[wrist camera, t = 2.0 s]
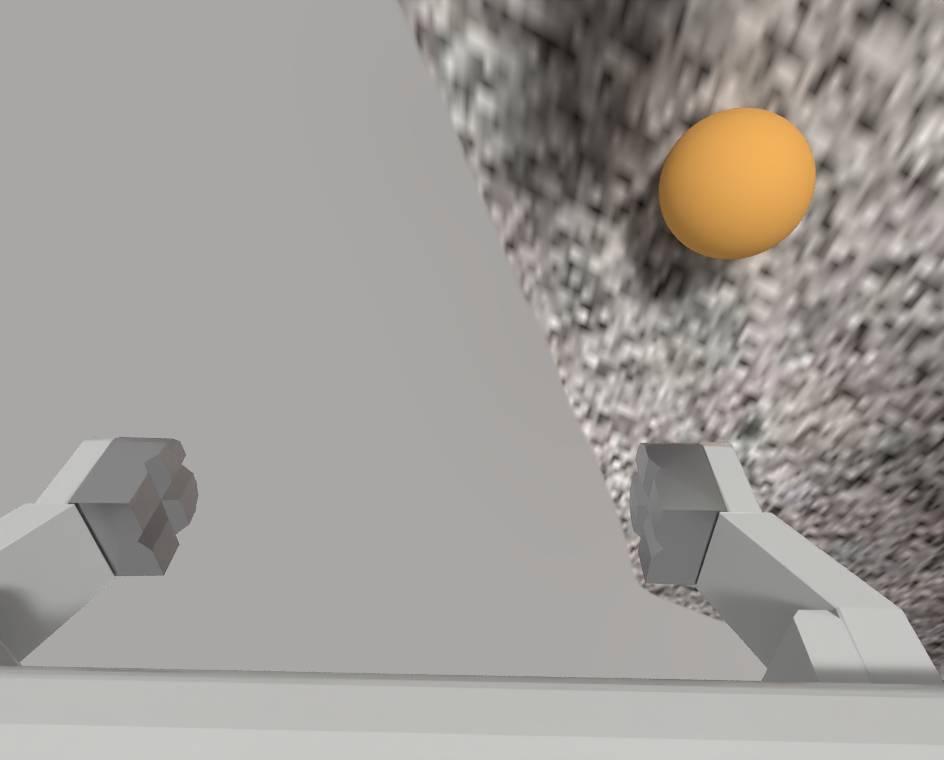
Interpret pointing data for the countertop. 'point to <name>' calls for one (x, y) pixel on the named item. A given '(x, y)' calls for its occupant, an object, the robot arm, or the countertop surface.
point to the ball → (737, 183)
